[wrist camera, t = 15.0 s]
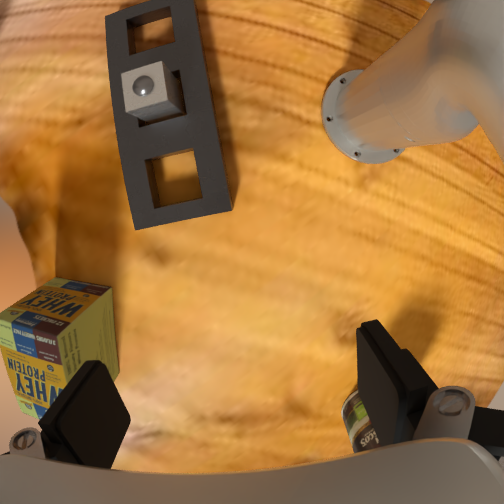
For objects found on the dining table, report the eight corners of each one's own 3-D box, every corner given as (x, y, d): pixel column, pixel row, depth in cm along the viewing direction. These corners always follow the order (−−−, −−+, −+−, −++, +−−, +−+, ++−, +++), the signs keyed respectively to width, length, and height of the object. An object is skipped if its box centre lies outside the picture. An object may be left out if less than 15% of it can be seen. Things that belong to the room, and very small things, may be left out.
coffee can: (332, 400, 47) (352, 464, 33) (389, 372, 45) (423, 428, 32) (350, 434, 49) (369, 492, 35) (401, 409, 48) (431, 462, 34)
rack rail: (195, -1, 32) (191, -11, 29) (233, 207, 39) (231, 210, 36) (113, 24, 33) (105, 16, 30) (143, 226, 40) (135, 230, 37)
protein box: (113, 285, 42) (57, 335, 27) (120, 373, 45) (82, 437, 30) (54, 275, 42) (-10, 315, 26) (66, 360, 45) (21, 414, 30)
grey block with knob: (180, 83, 35) (161, 59, 26) (185, 115, 36) (166, 99, 27) (147, 92, 36) (120, 73, 27) (152, 124, 37) (124, 111, 28)
